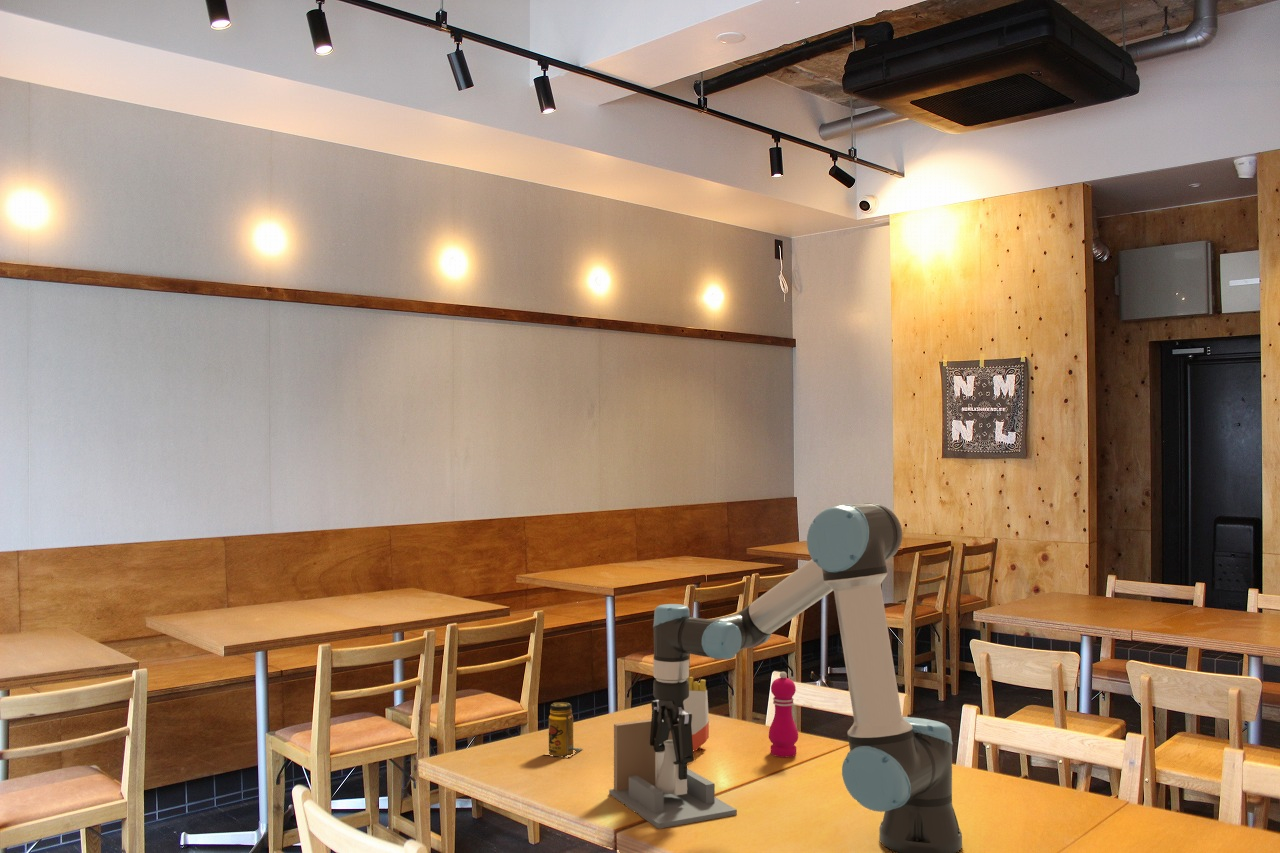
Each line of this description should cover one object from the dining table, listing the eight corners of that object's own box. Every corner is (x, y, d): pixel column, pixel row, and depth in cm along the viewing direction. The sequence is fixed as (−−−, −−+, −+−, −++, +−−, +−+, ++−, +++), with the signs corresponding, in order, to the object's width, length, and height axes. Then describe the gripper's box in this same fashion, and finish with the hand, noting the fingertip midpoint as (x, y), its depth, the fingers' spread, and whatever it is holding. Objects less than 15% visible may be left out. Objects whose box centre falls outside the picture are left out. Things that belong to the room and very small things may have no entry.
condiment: (542, 755, 253) (542, 706, 253) (556, 746, 261) (556, 698, 261) (569, 758, 250) (569, 708, 251) (583, 749, 258) (583, 700, 259)
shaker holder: (736, 814, 212) (736, 740, 212) (658, 828, 204) (658, 751, 204) (682, 782, 232) (682, 715, 233) (609, 794, 224) (609, 724, 225)
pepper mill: (778, 747, 260) (778, 667, 260) (803, 753, 255) (803, 671, 256) (762, 754, 254) (762, 672, 255) (788, 759, 250) (788, 676, 250)
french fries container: (666, 743, 263) (666, 672, 264) (709, 746, 261) (708, 674, 261) (662, 748, 259) (662, 676, 259) (705, 752, 256) (705, 678, 257)
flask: (685, 796, 214) (685, 747, 214) (650, 794, 215) (650, 745, 216) (690, 785, 221) (690, 738, 221) (657, 783, 223) (657, 736, 223)
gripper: (711, 687, 211) (711, 800, 211) (664, 668, 230) (663, 772, 229) (679, 690, 208) (678, 805, 207) (633, 671, 226) (633, 776, 226)
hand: (670, 788), depth 218 cm, fingers closed on flask, 8 cm apart
